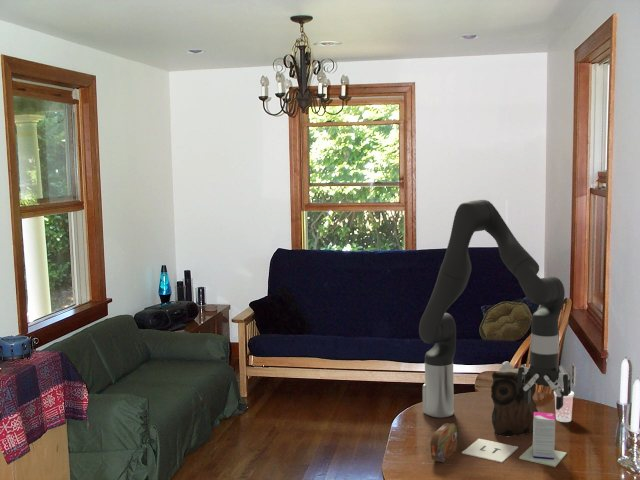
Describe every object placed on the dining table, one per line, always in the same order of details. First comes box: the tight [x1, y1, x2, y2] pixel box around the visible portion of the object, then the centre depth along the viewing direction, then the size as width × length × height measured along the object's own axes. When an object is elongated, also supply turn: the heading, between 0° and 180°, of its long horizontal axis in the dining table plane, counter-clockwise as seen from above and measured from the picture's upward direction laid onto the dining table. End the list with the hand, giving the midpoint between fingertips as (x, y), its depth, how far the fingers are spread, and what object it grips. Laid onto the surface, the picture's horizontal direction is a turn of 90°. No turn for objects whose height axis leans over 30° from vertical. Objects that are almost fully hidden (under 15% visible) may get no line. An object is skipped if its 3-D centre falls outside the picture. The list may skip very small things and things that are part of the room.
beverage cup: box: [553, 388, 575, 423], centre depth 232 cm, size 6×6×14 cm
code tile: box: [461, 438, 519, 463], centre depth 210 cm, size 12×12×1 cm
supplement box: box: [532, 411, 556, 460], centre depth 205 cm, size 6×6×12 cm
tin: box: [430, 422, 459, 463], centre depth 207 cm, size 15×3×8 cm, turn 148°
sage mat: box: [518, 444, 568, 468], centre depth 205 cm, size 10×10×1 cm
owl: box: [490, 366, 539, 438], centre depth 223 cm, size 13×13×20 cm
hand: (543, 405), depth 204 cm, fingers open, 8 cm apart
